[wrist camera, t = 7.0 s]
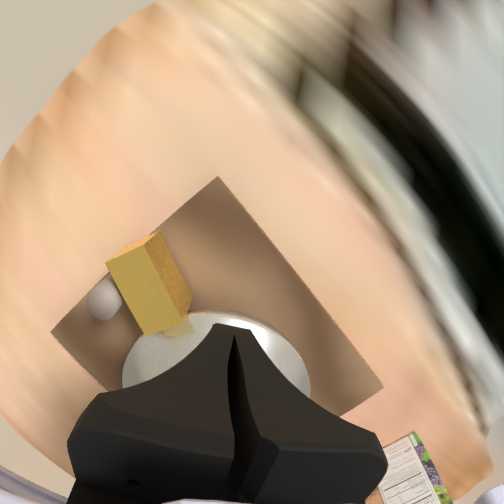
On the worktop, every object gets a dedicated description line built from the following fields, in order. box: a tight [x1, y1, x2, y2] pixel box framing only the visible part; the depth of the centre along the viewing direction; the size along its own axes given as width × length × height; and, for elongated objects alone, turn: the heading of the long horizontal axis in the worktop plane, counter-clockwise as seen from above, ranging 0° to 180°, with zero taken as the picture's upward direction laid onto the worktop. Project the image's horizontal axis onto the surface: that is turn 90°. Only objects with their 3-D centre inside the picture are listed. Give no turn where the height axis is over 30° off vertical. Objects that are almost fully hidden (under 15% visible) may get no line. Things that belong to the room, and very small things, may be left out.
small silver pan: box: [105, 231, 311, 398], centre depth 19 cm, size 16×12×4 cm
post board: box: [51, 177, 384, 417], centre depth 20 cm, size 17×20×5 cm
